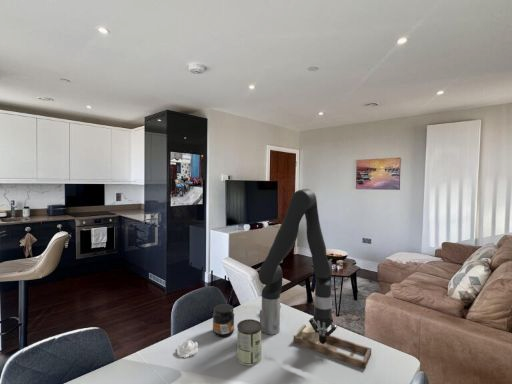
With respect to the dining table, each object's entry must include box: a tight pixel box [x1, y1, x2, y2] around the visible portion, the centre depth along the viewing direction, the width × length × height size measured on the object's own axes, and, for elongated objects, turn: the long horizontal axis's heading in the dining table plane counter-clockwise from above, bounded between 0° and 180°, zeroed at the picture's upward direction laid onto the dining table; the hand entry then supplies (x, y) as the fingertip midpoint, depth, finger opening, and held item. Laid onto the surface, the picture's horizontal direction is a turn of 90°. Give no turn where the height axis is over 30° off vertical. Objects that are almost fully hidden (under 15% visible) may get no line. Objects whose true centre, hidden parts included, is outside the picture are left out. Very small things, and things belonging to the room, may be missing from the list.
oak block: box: [302, 325, 319, 344], centre depth 126 cm, size 6×6×5 cm
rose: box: [176, 339, 199, 359], centre depth 120 cm, size 10×4×10 cm
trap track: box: [292, 324, 372, 370], centre depth 121 cm, size 31×11×5 cm, turn 56°
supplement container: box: [212, 303, 235, 338], centre depth 136 cm, size 10×10×12 cm
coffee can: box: [236, 318, 262, 367], centre depth 116 cm, size 10×10×14 cm
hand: (322, 342), depth 123 cm, fingers closed
